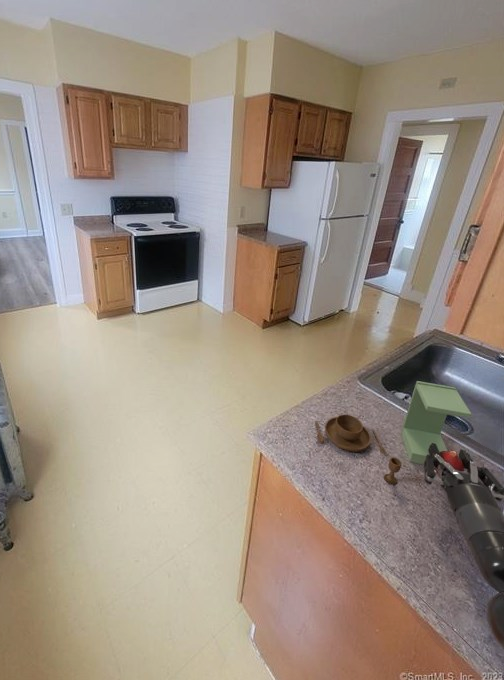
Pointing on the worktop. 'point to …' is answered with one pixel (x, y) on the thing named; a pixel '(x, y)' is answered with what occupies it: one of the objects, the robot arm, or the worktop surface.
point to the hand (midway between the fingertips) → (446, 449)
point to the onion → (452, 460)
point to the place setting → (355, 439)
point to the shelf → (429, 418)
